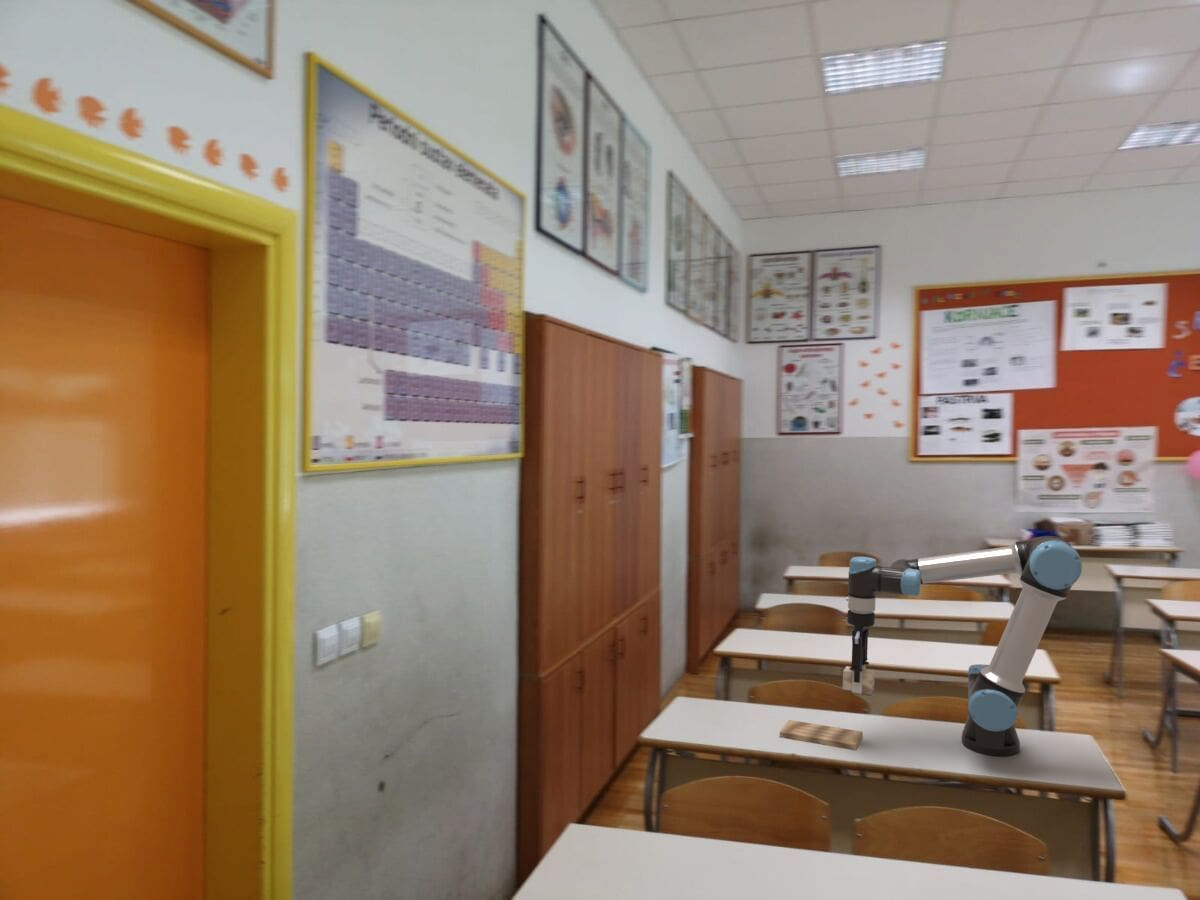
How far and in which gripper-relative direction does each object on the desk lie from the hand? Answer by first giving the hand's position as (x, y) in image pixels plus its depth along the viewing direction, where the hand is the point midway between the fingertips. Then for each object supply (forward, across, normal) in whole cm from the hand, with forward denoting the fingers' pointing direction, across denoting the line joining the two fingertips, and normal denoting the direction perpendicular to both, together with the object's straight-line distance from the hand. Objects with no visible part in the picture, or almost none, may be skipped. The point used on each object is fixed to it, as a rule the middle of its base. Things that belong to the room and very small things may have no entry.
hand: (858, 689), depth 232 cm
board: (+16, 0, -10) cm, 19 cm away
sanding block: (0, 0, 0) cm, 0 cm away
